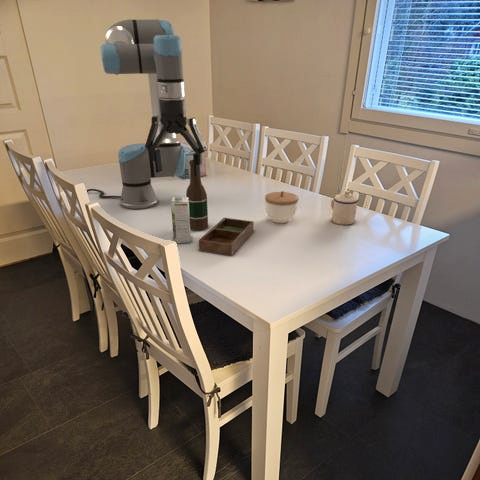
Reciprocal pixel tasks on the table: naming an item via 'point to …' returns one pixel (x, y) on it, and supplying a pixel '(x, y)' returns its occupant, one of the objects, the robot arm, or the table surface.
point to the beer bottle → (197, 202)
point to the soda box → (189, 156)
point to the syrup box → (180, 219)
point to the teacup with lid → (344, 208)
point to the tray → (226, 236)
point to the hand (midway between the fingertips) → (177, 173)
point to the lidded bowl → (281, 206)
